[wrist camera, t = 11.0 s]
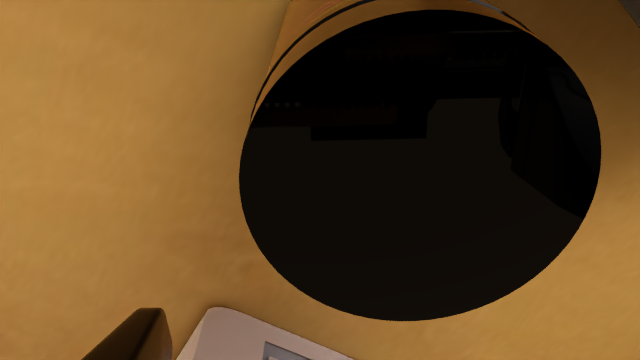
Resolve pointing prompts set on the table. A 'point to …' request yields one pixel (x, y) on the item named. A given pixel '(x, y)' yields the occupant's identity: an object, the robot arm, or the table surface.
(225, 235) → the table surface
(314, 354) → the charger
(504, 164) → the supplement container
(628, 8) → the crate
